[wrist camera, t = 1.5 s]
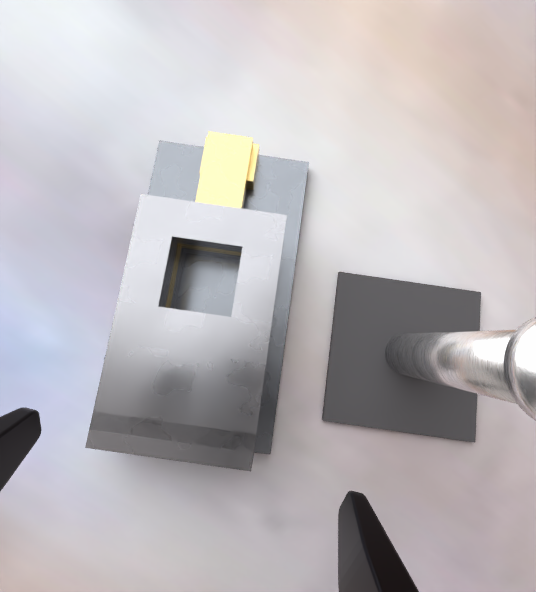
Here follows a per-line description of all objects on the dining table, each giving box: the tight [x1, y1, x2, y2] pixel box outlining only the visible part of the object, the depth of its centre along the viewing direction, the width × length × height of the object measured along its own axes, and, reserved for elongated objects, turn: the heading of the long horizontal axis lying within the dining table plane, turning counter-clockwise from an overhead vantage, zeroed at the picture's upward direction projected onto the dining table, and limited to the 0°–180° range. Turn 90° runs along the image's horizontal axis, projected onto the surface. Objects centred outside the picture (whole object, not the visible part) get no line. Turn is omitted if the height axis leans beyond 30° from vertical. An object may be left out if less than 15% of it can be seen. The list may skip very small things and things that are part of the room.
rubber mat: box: [322, 272, 481, 442], centre depth 22 cm, size 11×11×1 cm
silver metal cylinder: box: [385, 318, 536, 420], centre depth 16 cm, size 4×4×12 cm
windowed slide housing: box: [85, 131, 309, 471], centre depth 20 cm, size 22×12×4 cm, turn 172°
